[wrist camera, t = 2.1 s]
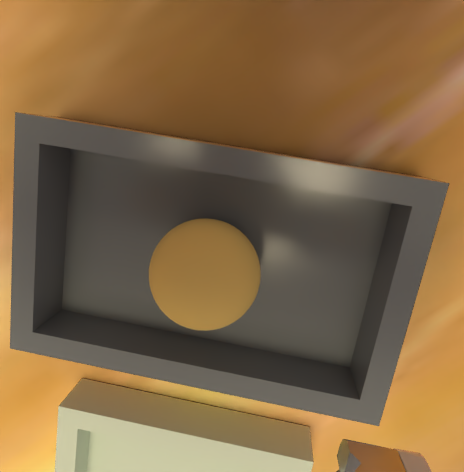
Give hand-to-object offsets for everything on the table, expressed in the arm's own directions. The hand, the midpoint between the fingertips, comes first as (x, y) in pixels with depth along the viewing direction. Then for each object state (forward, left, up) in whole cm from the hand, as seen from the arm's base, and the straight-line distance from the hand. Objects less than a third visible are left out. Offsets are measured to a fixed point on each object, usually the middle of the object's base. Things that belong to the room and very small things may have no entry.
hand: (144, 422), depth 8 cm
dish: (-1, 0, -11) cm, 11 cm away
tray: (+12, 0, -11) cm, 16 cm away
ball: (-1, 0, -10) cm, 10 cm away
